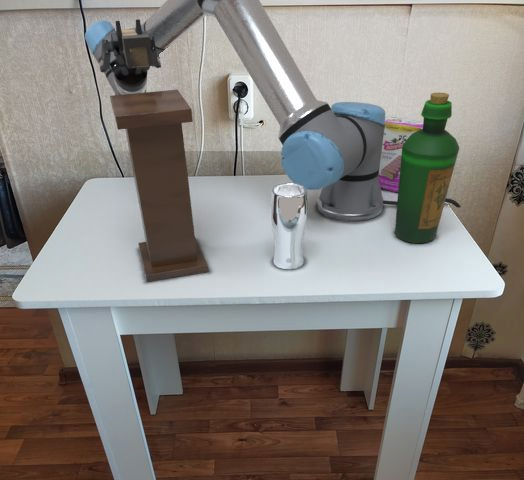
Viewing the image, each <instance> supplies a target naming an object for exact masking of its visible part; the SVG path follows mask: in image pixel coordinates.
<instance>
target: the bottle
mask: <svg viewBox="0 0 524 480" xmlns="http://www.w3.org/2000/svg"><path fill="white" fill-rule="evenodd" d="M449 97H450V94H449V93H446V92H439V91H438V92H432V93H430V99H427V100H426V101H425V102H424V105H423V108H422V111H421V113H420V115H421V117H422V118H423V119H422V120H423V121H422V122H423V129H420V130H418V131H416V132H414V133H413V134H411V135H410V137H409V138H408V139H407V140H406V141H405V143H404V144H403V145H402V155H401V167H400V178H399V189H398V193H397V200H396V201H397V205H396V214H395V223H394V224H395V225H394V234H395V235H396V237H397V238H399V239H401V240H402V241H405V242H407V243H412V244H424V243H429V242H431V241H433V240H434V239H435V238H436V236H437V233H438V228H439V225H440V221H441V217H442V215H443V210H444V207H445V204H446V202H445V199H446V198H447V195H448V192H449V188H450V185H451V184H450V183H451V180H452V177H453V173H454V169H455V166H456V162H457V158H458V155H459V151H460V146H459V143H458V141H457V139H456V137H454V136H453V135H452V133H450V132H449V131H447V130H446V126H447V123H448V120H449V119H451V117H452V116H453V114H452V113H453V111H452V109H453V106H452V105H453V104H452V101H450V100H449Z"/></svg>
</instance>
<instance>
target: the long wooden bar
mask: <svg viewBox="0 0 524 480" xmlns="http://www.w3.org/2000/svg"><path fill="white" fill-rule="evenodd" d="M125 29H126V30H125ZM125 29H121V31H122V41H123V50H124V53H125V59H126V65H127V67H128V68H134V67H146V66H150V67H152V66H153V59H152V52H151V44H150V37H149V36H148V35H147V34H143V35H138V34H137V33H136V31H135V30H134V29H131V28H125Z"/></svg>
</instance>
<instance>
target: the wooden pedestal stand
mask: <svg viewBox="0 0 524 480" xmlns="http://www.w3.org/2000/svg"><path fill="white" fill-rule="evenodd" d="M109 98H110V104H111V108H112V113H113V116H114V120H115V123H116V128H117V130H118V131H119V130H125V135H126V142H127V147H128V152H129V157H130V164H131V168H132V174H133V180H134V185H135V190H136V191H135V192H136V195H137V196H136V197H137V202H138V208H139V213H140V218H141V223H142V229H143V235H144V240H145V241H141V242H138V243H137V244H138V249H139V254H140V257H141V262H142V266H143V267H142V268H143V271H144V275H145V280H146V283H150V282H154V281H161V280H168V279H173V278H179V277H187V276H191V275H197V274H203V273H208V272H209V265H208V263H207V261H206V259H205V256H204V254H203V251H202V249H201V247H200V245H199V242H198V239H197V237H196V236H195V227H194V218H193V210H192V201H191V192H190V185H189V175H188V167H187V159H186V158H187V156H186V149H185V138H184V130H183V124H184V123H185V124H186V123H193V122H194V120H193V110H192V108H191V106H190V105H189V103H188V101H186V100H185V97H183V95H182V94H181V92H180V91H179V89H169V90H167V89H166V90H157V91H146V92H145V93H134V94H124V95H115V94H114V95H113V94H112V95H109Z"/></svg>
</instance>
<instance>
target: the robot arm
mask: <svg viewBox="0 0 524 480" xmlns="http://www.w3.org/2000/svg"><path fill="white" fill-rule="evenodd" d="M206 16H208V17H214V18H215V19H216V21H217V22H218V24H219V26H220V27H221V29H222V31H223V32H224V34H225V36H226V38H227V39H228V41H229V43H230V44H231V46H232V48H233V49H234V50H235V52H236V54H237V57H238V58H239V59H240V61H241V63H242V64H243V66H244V68H245V69H246V71H247V73H248V75H249V76H250V78H251V79H252V81H253V83H254V85H255V86H256V88H257V89H258V91H259V93H260V95H261V96H262V98H263V99H264V101H265V103H266V104H267V107H268V108H269V110H270V111H271V112H272V115H273V117H274V118H275V119H276V121H277V123H278V125H279V131H278V137H277V138H278V140H279V142H280V143H281V145H282V147H281V151H280V156H281V160H280V162H281V166H282V169H283V171H284V172H285V174H286V176H287V177H288V178H289V180H290V181H291V182H292V183H296V184H301V185H303V186H305V187H306V188H307V190H308V191H318V190H320V193H319V195H318V197H317V200H316V203H317V210H318V211H319V213H320V214H322V215H323V216H325V217H327V218H329V219H333V220H336V221H342V222H363V221H368V220H371V219H374V218H376V217H378V216H379V215H381V214H382V212H383V207H384V205H387V206H388V205H389V206H397V201H398V200H384V198H383V193H382V189H381V188H380V183H379V177H378V176H379V168H380V160H381V152H382V144H383V137H384V129H385V126H386V124H385V116H386V111H385V109H384V107H382V106H380V105H377V104H373V103H367V102H358V101H338V102H334V103H333V104H332V105H331V106H330V103H328V102H327V101H322V100H318V99H317V97H316V96H315V95H314V93H313V91H312V90H311V88H310V86H309V84H308V82H307V81H306V79H305V77H304V75H303V74H302V72H301V70H300V68H299V67H298V65H297V63H296V61H295V60H294V58H293V56H292V54H291V53H290V51H289V49H288V47H287V45H286V44H285V43H284V41H283V39H282V37H281V36H280V34H279V31H278V29H276V27H275V25H274V23H273V22H272V20H271V18H270V16H269V15H268V13H267V11H266V9H265V8H264V6H263V4H262V3H261V1H260V0H166V1H164V3H163V4H161V6H159V8H158V9H156V10H155V11H154V12H153V13H152V14H151V15H150V16H149V17H148V19H146V20H145V21H144V22H143V23H142V24H141V19H135V27H132V28H130V29H134V30H135V31H136V33H137V34H138V35H143V34H147V35H148V36H149V37H150V44H151V52H152V59H153V66H146V67H134V68H128V67H127V65H126V59H125V53H124V50H123V41H122V31H121V30H122V26H121V21H120V20H115V26H114V25H113V24H112V23H111V21H109V20H105V19H104V20H103V19H102V20H99V21H96V22H95V23H93V24H92V25H90V26H89V27H88V28H87V30H86V32H85V33H84V39H85V43H86V44H87V46H88V48H89V50H90V52H91V55H92V56H93V57H94V59H95V60H96V62H97V64H98V67H99V71H100V73H103V74H104V76H105V78H106V79H107V82H108V84H109V85H110V87H111V89H112V91H113V92H114V95H124V94H134V93H145V92H147V85H148V71H149V70H151V69H150V68H151V67H152V68H154V67H155V68H156V69H161V68H162V64H161V58H160V57H159V54H160V53H161V52H163V51H164V50H165V49H166V48H168V47H169V46H170V45H171V46H172V45H173V44H174V43H175V42H176V41H177V40H178V39H180V38H181V37H182V36H183V35H184V34H186V33H187V32H188V31H189V30H190V29H192V28H193V27H194V26H195V25H196V24H198V23H199V22H200V21H201V20H202V19H204V18H205V17H206ZM126 29H127V28H125V29H124V30H126ZM445 203H448V204H452V205H453V206H455V208H462V206H461V205H460V204H459V202H457V200H454V199H452V198H447V197H446V199H445Z"/></svg>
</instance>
